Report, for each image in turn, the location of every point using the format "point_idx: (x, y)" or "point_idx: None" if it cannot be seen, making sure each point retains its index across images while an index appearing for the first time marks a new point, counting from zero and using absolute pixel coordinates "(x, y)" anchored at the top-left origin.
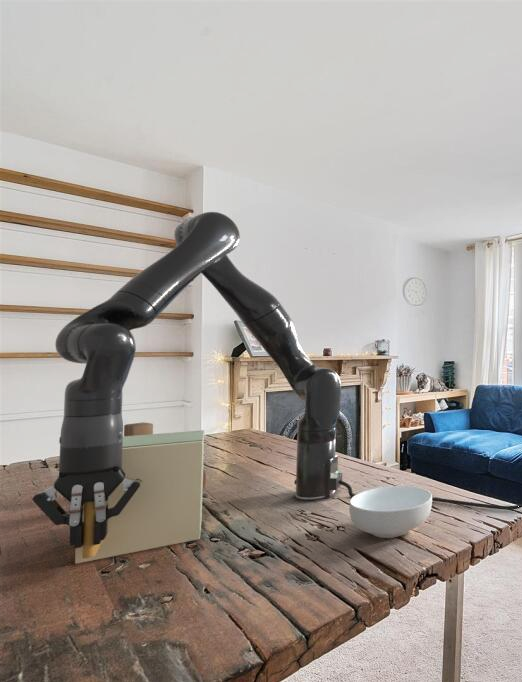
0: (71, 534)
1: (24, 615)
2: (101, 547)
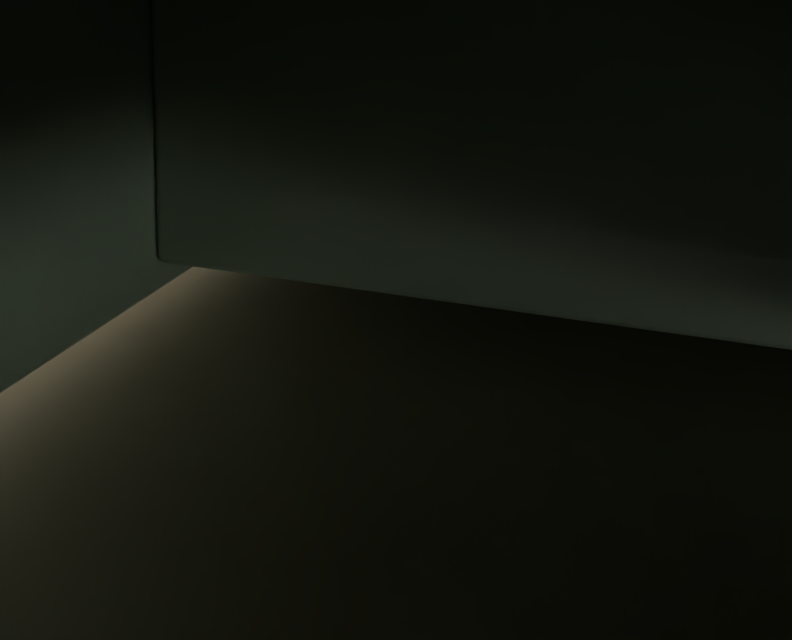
0: None
1: None
2: None
